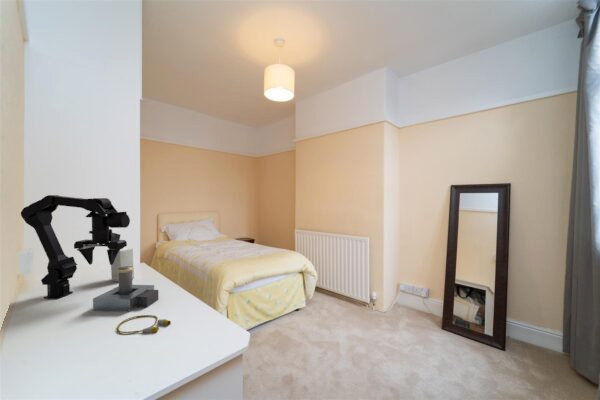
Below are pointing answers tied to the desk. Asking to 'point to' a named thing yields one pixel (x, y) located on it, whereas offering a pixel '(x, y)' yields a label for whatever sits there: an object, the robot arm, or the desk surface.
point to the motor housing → (126, 299)
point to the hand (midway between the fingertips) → (101, 264)
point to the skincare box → (122, 262)
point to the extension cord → (146, 330)
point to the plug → (125, 280)
